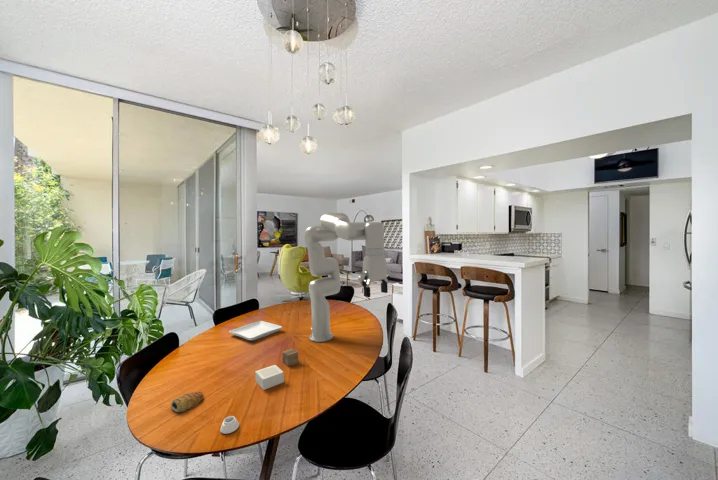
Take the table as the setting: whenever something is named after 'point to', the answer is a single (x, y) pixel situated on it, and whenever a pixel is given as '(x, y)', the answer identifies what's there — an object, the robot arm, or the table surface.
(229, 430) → the white jar
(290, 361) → the cube
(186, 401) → the pastry
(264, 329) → the salad plate
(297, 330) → the table surface
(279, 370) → the base
